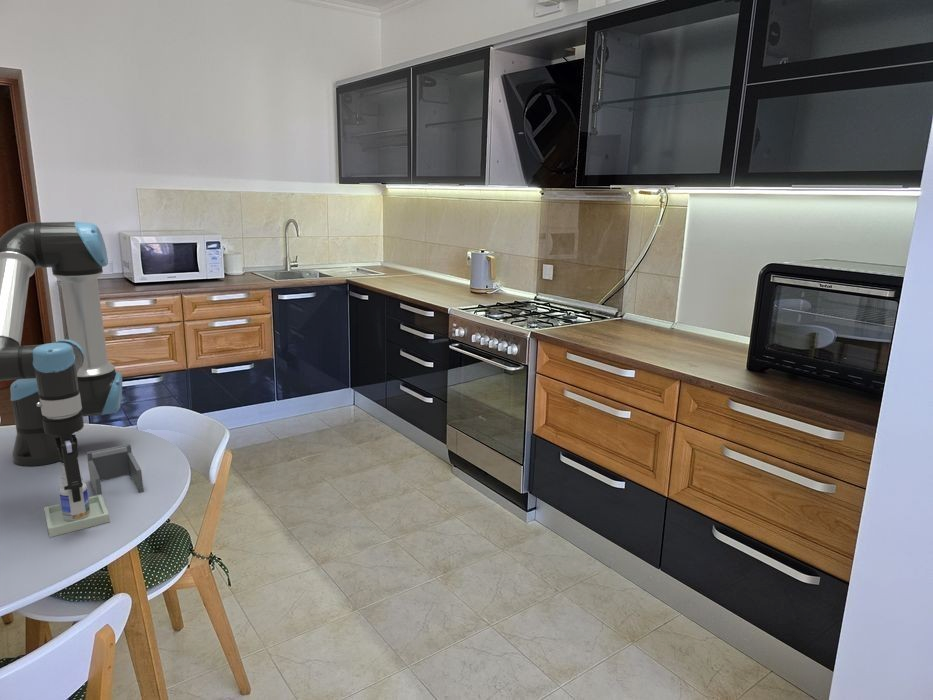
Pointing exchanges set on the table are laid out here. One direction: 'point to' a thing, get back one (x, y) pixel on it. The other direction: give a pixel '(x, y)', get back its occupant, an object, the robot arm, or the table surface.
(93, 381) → the robot arm
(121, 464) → the bay
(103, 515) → the tray
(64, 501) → the pill bottle
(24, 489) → the table surface
